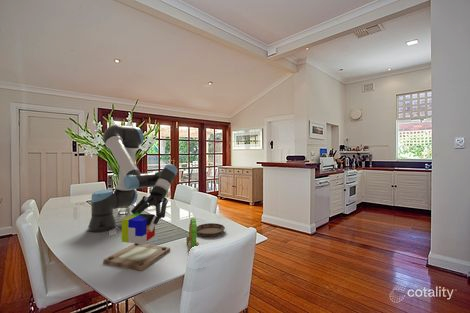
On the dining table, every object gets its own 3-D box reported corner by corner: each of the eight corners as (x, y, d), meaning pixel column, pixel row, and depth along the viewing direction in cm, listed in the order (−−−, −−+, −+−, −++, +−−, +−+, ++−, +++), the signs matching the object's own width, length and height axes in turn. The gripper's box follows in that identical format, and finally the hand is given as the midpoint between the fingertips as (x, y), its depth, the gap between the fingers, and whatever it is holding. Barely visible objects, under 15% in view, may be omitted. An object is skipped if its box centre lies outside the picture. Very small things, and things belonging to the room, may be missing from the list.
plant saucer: (199, 240, 127) (199, 234, 127) (192, 229, 143) (192, 225, 143) (229, 235, 134) (229, 230, 134) (219, 226, 150) (219, 221, 150)
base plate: (103, 263, 99) (103, 258, 99) (136, 245, 118) (136, 241, 118) (141, 271, 93) (141, 266, 93) (170, 250, 112) (170, 246, 112)
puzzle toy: (142, 244, 99) (142, 221, 99) (121, 241, 101) (121, 219, 101) (154, 235, 109) (154, 214, 108) (135, 233, 111) (135, 213, 110)
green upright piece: (185, 241, 124) (186, 213, 124) (196, 240, 126) (196, 212, 125) (188, 254, 109) (188, 222, 109) (200, 252, 111) (200, 221, 110)
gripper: (182, 195, 119) (164, 235, 105) (145, 192, 126) (123, 229, 112) (177, 186, 114) (157, 227, 99) (138, 184, 121) (115, 222, 106)
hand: (139, 228), depth 105 cm, fingers closed on puzzle toy, 10 cm apart
